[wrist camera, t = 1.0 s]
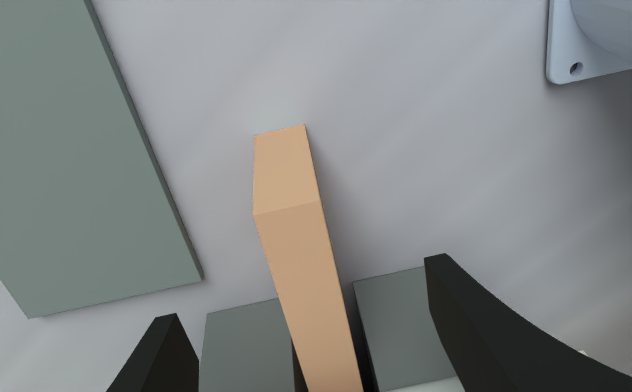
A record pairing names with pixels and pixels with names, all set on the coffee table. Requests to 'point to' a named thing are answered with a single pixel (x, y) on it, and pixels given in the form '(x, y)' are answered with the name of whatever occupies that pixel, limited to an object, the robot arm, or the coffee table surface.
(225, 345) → the dispenser
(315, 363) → the tall tan wooden post
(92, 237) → the slate mat
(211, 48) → the coffee table surface
